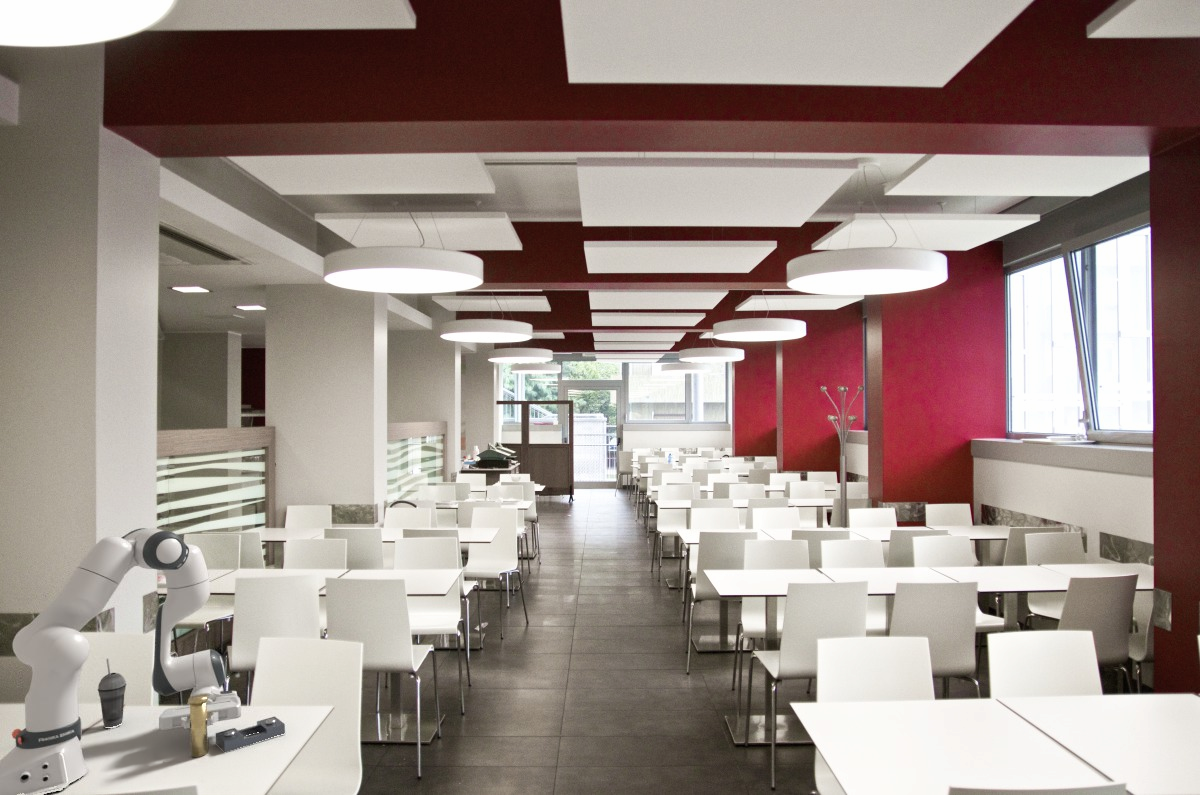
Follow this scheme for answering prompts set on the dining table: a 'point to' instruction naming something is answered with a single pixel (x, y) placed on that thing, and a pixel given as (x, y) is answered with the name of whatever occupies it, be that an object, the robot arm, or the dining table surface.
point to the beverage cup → (112, 697)
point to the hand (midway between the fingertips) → (198, 724)
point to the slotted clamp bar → (236, 737)
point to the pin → (198, 724)
